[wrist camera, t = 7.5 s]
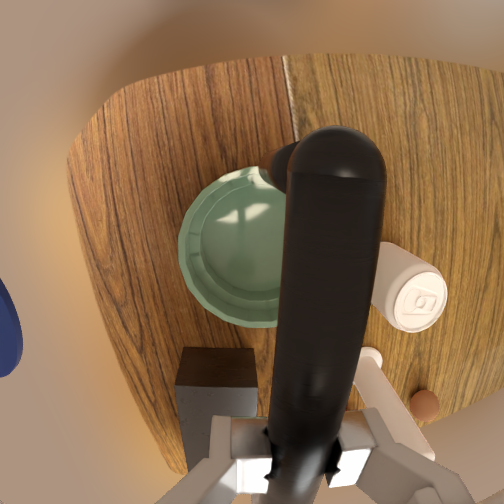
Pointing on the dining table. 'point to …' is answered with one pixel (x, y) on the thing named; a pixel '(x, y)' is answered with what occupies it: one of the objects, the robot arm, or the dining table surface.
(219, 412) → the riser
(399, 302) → the beverage can
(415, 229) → the dining table surface
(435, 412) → the egg
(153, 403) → the dining table surface
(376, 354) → the candle
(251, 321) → the bowl
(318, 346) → the black and silver ladle
